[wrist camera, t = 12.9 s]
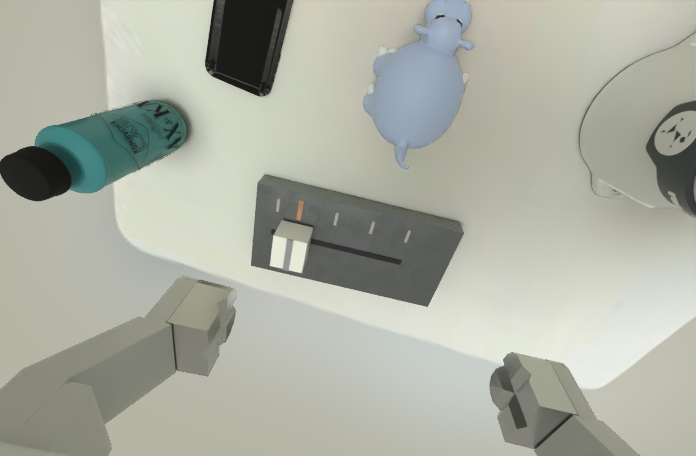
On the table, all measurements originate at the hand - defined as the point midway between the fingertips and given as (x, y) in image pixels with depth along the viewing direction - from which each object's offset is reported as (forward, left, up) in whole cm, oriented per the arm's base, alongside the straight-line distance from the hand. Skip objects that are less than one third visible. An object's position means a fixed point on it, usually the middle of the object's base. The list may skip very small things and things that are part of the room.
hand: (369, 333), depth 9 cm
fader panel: (-1, +19, -34) cm, 39 cm away
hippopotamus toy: (-4, -4, -34) cm, 35 cm away
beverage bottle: (+26, +8, -34) cm, 44 cm away
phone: (+16, -6, -35) cm, 39 cm away
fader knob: (+7, +19, -31) cm, 37 cm away
